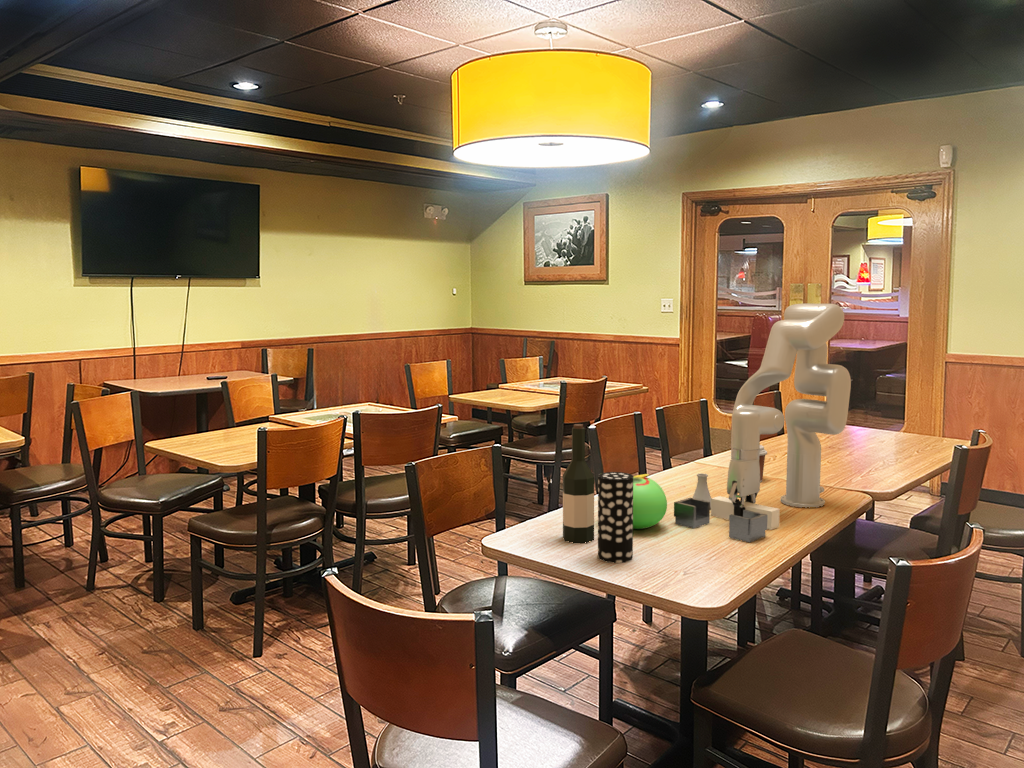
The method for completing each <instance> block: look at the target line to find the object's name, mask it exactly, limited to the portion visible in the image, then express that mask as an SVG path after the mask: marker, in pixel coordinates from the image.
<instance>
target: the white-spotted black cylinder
mask: <svg viewBox="0 0 1024 768" xmlns="http://www.w3.org/2000/svg"><path fill="white" fill-rule="evenodd" d="M633 476H634V474H631V473H627V472H620V471H610V472H609V471H608V472H607V471H606V472H603V473H602V472H601V473H598V477H597V558H598V559H599V560H600V559H601V560H600V561H602V560H603V561H602V562H605V561H607V562H606V563H611V562H614V564H622V563H627V562H630V561H632V560H633V559H634V558H633V557H634V555H633V553H634V551H633V550H634V546H633V545H634V543H633V542H634V541H633V540H634V528H633Z"/></svg>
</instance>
